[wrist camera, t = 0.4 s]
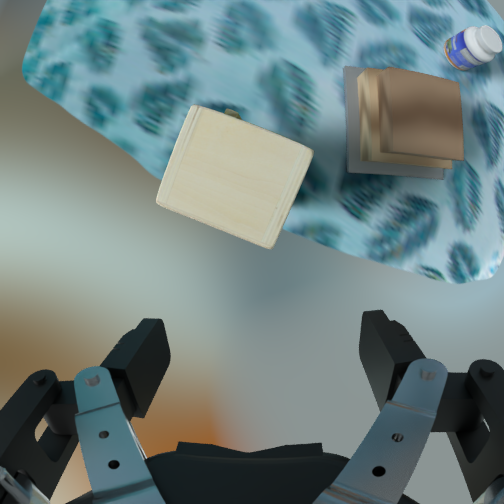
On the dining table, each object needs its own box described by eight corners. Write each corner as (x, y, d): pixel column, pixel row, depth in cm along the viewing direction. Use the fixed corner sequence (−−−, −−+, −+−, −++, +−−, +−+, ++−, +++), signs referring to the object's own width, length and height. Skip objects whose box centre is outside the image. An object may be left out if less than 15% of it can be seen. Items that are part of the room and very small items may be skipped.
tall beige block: (294, 154, 36) (321, 140, 16) (271, 208, 38) (271, 255, 18) (234, 130, 36) (193, 91, 16) (213, 184, 38) (149, 205, 18)
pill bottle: (447, 33, 29) (480, 12, 20) (473, 56, 29) (508, 41, 20) (438, 55, 30) (472, 35, 21) (464, 78, 31) (502, 64, 21)
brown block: (357, 77, 32) (378, 56, 24) (431, 89, 31) (464, 76, 23) (360, 161, 35) (384, 160, 27) (434, 167, 34) (469, 170, 26)
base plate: (342, 68, 33) (344, 65, 32) (435, 83, 32) (439, 82, 31) (346, 172, 36) (348, 172, 35) (439, 179, 36) (443, 179, 34)
